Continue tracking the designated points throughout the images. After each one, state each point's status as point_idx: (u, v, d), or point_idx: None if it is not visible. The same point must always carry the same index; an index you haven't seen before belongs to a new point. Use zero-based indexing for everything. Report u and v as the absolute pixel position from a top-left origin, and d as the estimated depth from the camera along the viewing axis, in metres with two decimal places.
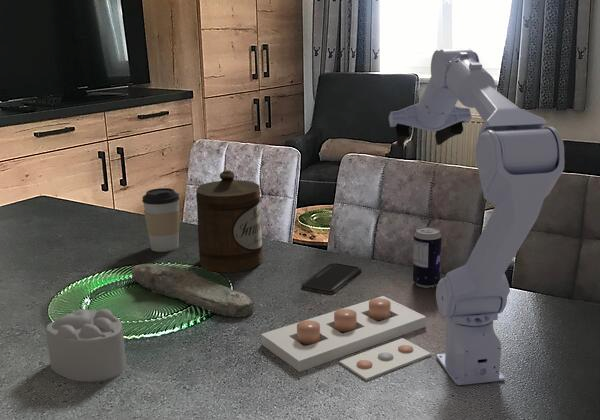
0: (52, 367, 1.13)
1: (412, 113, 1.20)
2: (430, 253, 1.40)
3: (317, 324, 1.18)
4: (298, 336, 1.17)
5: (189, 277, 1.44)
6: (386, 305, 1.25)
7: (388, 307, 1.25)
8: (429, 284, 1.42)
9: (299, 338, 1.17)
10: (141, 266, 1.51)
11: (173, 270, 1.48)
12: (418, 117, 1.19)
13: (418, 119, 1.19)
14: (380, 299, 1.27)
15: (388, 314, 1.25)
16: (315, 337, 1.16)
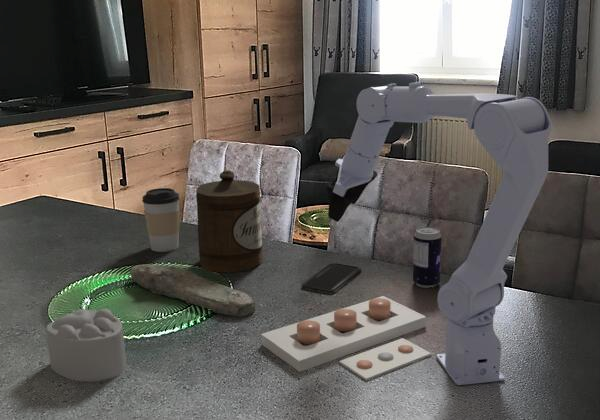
0: (52, 367, 1.13)
1: (345, 177, 1.20)
2: (430, 253, 1.40)
3: (317, 324, 1.18)
4: (298, 336, 1.17)
5: (189, 277, 1.44)
6: (386, 305, 1.25)
7: (388, 307, 1.25)
8: (429, 284, 1.42)
9: (299, 338, 1.17)
10: (140, 267, 1.51)
11: (172, 270, 1.48)
12: (356, 174, 1.19)
13: (356, 176, 1.20)
14: (380, 299, 1.27)
15: (388, 314, 1.25)
16: (315, 337, 1.16)
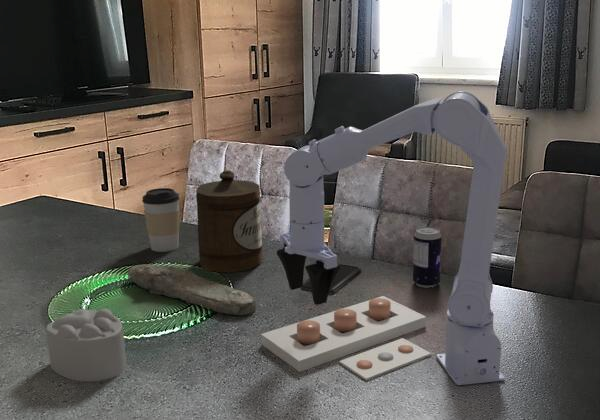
0: (52, 367, 1.13)
1: (314, 253, 1.11)
2: (430, 253, 1.40)
3: (317, 324, 1.18)
4: (298, 336, 1.17)
5: (188, 277, 1.44)
6: (386, 305, 1.25)
7: (388, 307, 1.25)
8: (429, 284, 1.42)
9: (299, 338, 1.17)
10: (138, 267, 1.51)
11: (171, 270, 1.48)
12: (320, 244, 1.12)
13: (321, 246, 1.12)
14: (380, 299, 1.27)
15: (388, 314, 1.25)
16: (315, 337, 1.16)
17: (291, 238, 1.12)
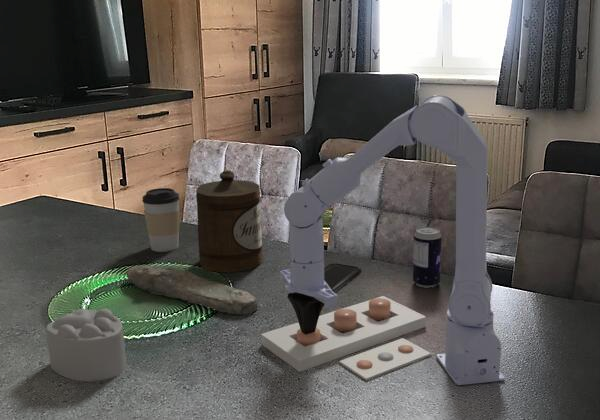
0: (52, 367, 1.13)
1: (315, 292, 1.12)
2: (430, 253, 1.40)
3: (317, 330, 1.18)
4: (298, 342, 1.17)
5: (188, 277, 1.44)
6: (386, 305, 1.25)
7: (388, 307, 1.25)
8: (429, 284, 1.42)
9: None
10: (136, 268, 1.51)
11: (170, 271, 1.48)
12: (320, 283, 1.13)
13: (321, 284, 1.14)
14: (380, 299, 1.27)
15: (388, 314, 1.25)
16: None
17: (291, 277, 1.14)
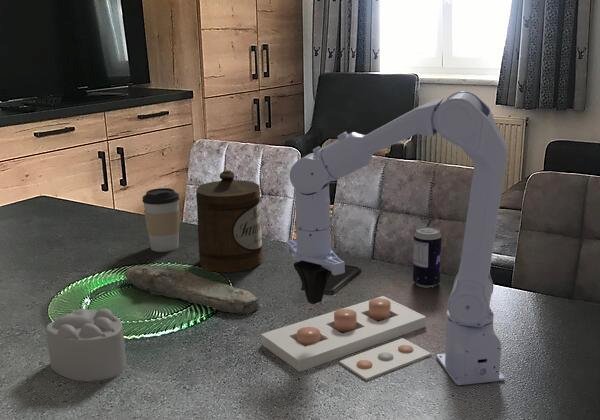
0: (52, 367, 1.13)
1: (321, 259, 1.12)
2: (430, 253, 1.40)
3: (317, 331, 1.18)
4: None
5: (188, 277, 1.44)
6: (386, 305, 1.25)
7: (388, 307, 1.25)
8: (429, 284, 1.42)
9: None
10: (135, 268, 1.50)
11: (169, 271, 1.48)
12: (327, 251, 1.13)
13: (327, 252, 1.13)
14: (380, 299, 1.27)
15: (388, 314, 1.25)
16: None
17: (298, 245, 1.13)
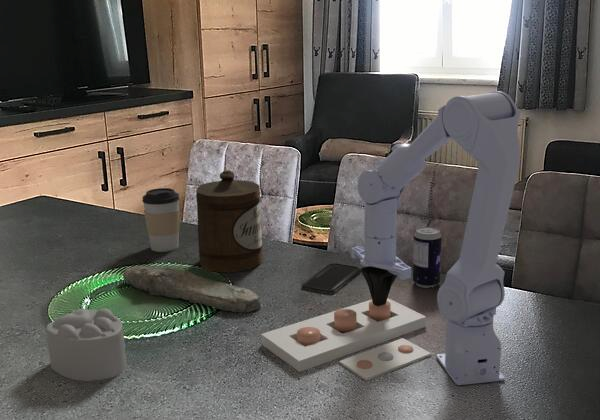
0: (52, 367, 1.13)
1: (388, 265, 1.21)
2: (430, 253, 1.40)
3: (317, 331, 1.18)
4: None
5: (188, 276, 1.44)
6: (386, 306, 1.25)
7: (388, 308, 1.25)
8: (429, 284, 1.42)
9: None
10: (133, 269, 1.50)
11: (168, 271, 1.48)
12: (393, 257, 1.22)
13: (394, 259, 1.22)
14: None
15: (388, 315, 1.25)
16: None
17: (366, 252, 1.22)
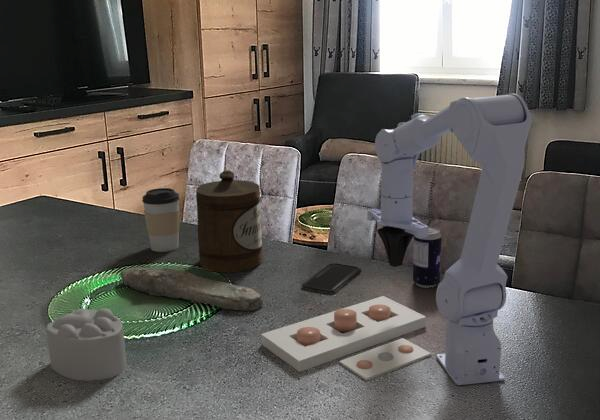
0: (52, 366, 1.13)
1: (405, 225, 1.22)
2: (430, 253, 1.40)
3: (317, 331, 1.18)
4: None
5: (187, 277, 1.44)
6: (386, 311, 1.25)
7: (388, 313, 1.25)
8: (429, 284, 1.42)
9: None
10: (131, 270, 1.49)
11: (167, 271, 1.47)
12: (410, 217, 1.23)
13: (410, 219, 1.23)
14: (380, 305, 1.28)
15: None
16: None
17: (383, 212, 1.23)
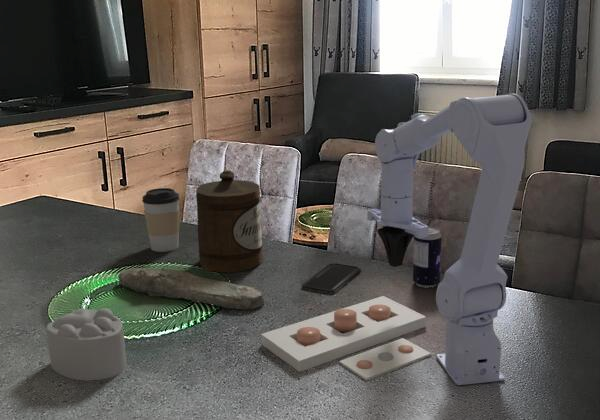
0: (52, 366, 1.13)
1: (405, 225, 1.22)
2: (430, 253, 1.40)
3: (317, 331, 1.18)
4: None
5: (187, 276, 1.44)
6: (386, 311, 1.25)
7: (388, 313, 1.25)
8: (429, 284, 1.42)
9: None
10: (128, 271, 1.49)
11: (165, 272, 1.47)
12: (410, 217, 1.23)
13: (410, 219, 1.23)
14: (380, 305, 1.28)
15: None
16: None
17: (383, 212, 1.23)
